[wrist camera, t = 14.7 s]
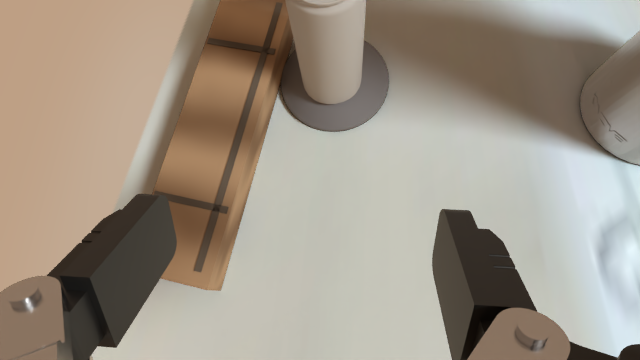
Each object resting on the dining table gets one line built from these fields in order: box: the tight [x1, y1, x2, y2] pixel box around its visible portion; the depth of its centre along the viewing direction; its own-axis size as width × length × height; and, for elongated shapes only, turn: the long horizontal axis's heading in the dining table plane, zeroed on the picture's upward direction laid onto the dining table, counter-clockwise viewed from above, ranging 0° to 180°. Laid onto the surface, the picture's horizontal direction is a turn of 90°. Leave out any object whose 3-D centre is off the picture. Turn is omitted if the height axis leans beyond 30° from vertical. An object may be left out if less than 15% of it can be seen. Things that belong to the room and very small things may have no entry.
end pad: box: [281, 41, 389, 132], centre depth 33 cm, size 9×9×1 cm
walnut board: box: [152, 0, 293, 290], centre depth 32 cm, size 24×6×3 cm, turn 167°
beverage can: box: [285, 0, 366, 104], centre depth 27 cm, size 5×5×12 cm
